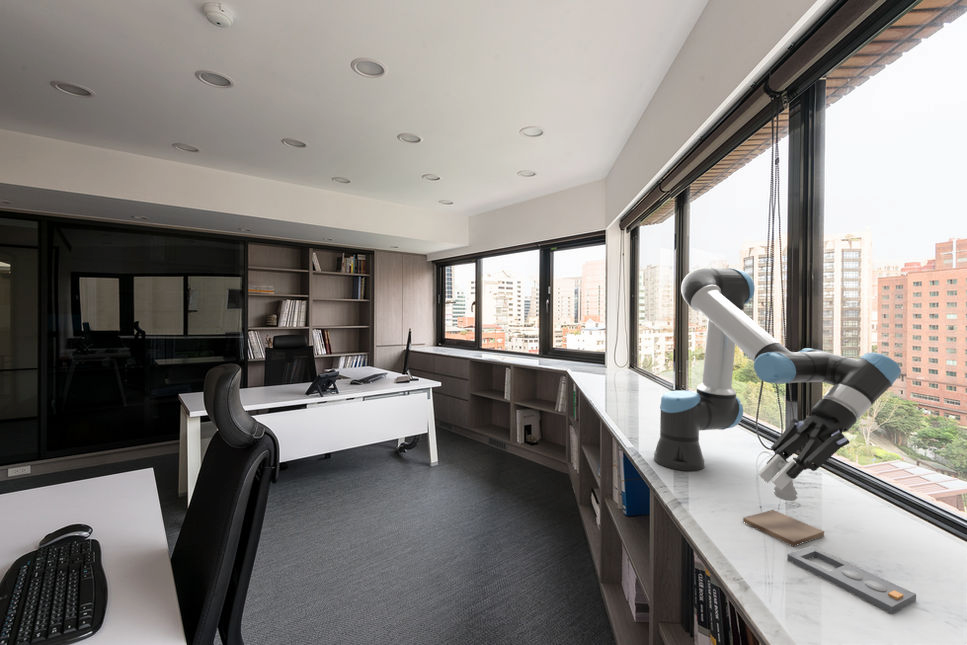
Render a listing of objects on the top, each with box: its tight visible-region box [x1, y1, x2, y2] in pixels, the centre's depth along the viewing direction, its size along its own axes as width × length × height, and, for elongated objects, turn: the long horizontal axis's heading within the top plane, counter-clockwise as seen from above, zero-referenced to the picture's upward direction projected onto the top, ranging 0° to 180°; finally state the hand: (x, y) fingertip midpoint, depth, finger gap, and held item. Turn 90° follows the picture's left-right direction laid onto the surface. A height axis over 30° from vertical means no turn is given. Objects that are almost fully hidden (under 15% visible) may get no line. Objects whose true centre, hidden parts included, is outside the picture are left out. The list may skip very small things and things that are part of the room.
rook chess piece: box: [773, 460, 798, 502], centre depth 94 cm, size 4×4×8 cm
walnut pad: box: [742, 509, 825, 547], centre depth 94 cm, size 11×11×1 cm
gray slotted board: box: [786, 545, 917, 615], centre depth 76 cm, size 16×8×2 cm, turn 23°
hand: (769, 481), depth 93 cm, fingers closed on rook chess piece, 3 cm apart
